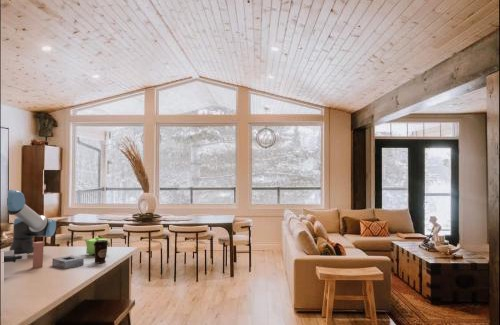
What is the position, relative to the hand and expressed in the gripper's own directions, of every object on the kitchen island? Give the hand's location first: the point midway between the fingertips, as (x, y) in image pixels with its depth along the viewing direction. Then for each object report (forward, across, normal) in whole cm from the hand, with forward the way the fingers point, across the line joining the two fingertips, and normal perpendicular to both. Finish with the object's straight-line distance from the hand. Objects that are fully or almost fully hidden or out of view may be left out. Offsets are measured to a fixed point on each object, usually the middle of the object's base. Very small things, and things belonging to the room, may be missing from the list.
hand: (20, 254), depth 219 cm
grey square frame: (+23, +9, -8) cm, 26 cm away
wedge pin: (+10, 0, -9) cm, 13 cm away
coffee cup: (+40, +16, -9) cm, 44 cm away
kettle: (+52, -5, -8) cm, 53 cm away
